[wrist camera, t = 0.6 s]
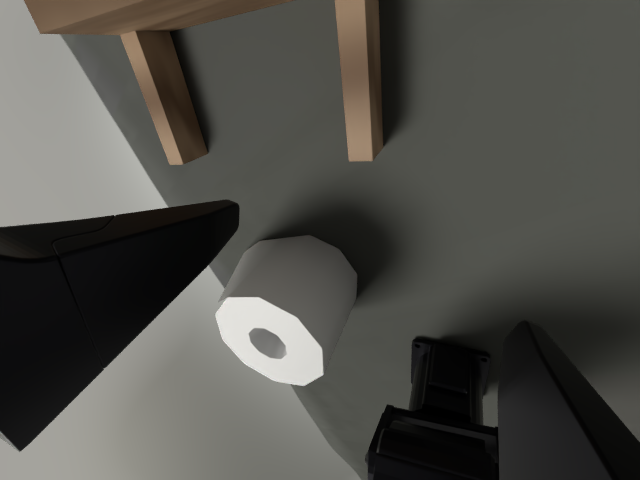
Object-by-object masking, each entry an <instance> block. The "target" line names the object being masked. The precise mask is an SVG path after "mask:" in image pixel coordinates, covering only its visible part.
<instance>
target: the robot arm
mask: <svg viewBox="0 0 640 480" xmlns="http://www.w3.org/2000/svg"><path fill="white" fill-rule="evenodd" d="M238 226H239V205H238V204H237V203H235V202H233V201H230V200H220V201H213V202H205V203H198V204H191V205H184V206H177V207H169V208H163V209H155V210H148V211H141V212H134V213H126V214H119V215H116V216H114V215H112V216H105V217H98V218H90V219H82V220H72V221H62V222H53V223H40V224H29V225H19V226H8V227H0V438H1V439H3V440H4V441H5V442H7V443H8V444H9V445H11V446H12V447H14V448H15V449H16V450H18V451H19V452H20V451H21V450H23V449H24V448H25V447H26V446H27V445H28V444H29V443H31V442H32V441H33V440H34V439H35V438H36V437H37V435H39V434H40V433H41V431H43V430H44V429H45V428H46V427H47V426H48V425H49V424H50V423H51V422H52V421H53V420H54V419H55V418H56V417H57V416H58V415H59V414H60V413H61V412H62V411H63V410H64V409H65V408H66V407H67V406H68V405H69V404H70V403H71V402H72V401H73V400H74V399H75V398H76V397H77V396H78V395H79V394H80V392H82V391H83V390H84V389H85V388H86V387H87V386H88V385H89V384H90V383H91V382H92V381H93V380H94V379H95V378H96V377H97V376H98V375H99V374H100V373H101V372H102V371H103V370H104V369H103V368H105V367H107V366H108V365H109V364H110V363H111V362H112V361H113V360H114V359H115V358H116V357H117V356H118V355H119V354H120V353H121V352H122V351H123V350H124V349H125V348H126V347H127V346H128V345H129V344H130V343H131V342H132V341H133V340H134V339H135V338H136V337H137V336H138V335H139V334H140V333H141V332H142V331H143V330H144V329H145V328H146V327H147V326H148V325H149V324H150V323H151V322H152V321H153V320H154V319H155V318H156V317H157V316H158V315H159V314H160V313H161V312H162V311H163V310H164V309H165V308H166V307H167V306H168V305H169V304H170V303H171V302H172V301H173V300H174V299H175V298H176V297H177V296H178V295H179V294H180V293H181V292H182V291H183V290H184V289H185V288H186V287H187V286H188V285H189V284H190V283H191V282H192V281H193V280H194V279H195V278H196V277H197V276H198V275H199V274H200V273H201V272H202V271H203V270H204V269H205V268H206V267H207V266H208V265H209V264H210V263H211V262H212V261H213V259H214V258H215V257H216V256H217V255H218V253H219V252H220V251H221V250H222V248H223V247H224V246H225V245H226V243H227V242H228V241H229V240H230V238H231V237H232V236H233V235H234V233H235V232H236V231H237V229H238ZM418 344H419V345H418ZM490 362H491V359H490V355H489V354H488V353H485V352H481V351H476V350H471V349H466V348H461V347H456V346H451V345H446V344H441V343H436V342H431V341H426V340H421V339H414V340H413V342H412V363H411V383H412V384H413V385H412V391H411V397H410V403H409V410H406V409H401V408H396V407H394V406H392V405H387V406H386V408H385V411H384V413H382V416H381V418H380V421H379V424H378V426H377V429H376V431H375V434H374V436H373V439H372V442H371V444H370V447H369V450H368V452H367V454H366V456H365V463H366V465H367V467H368V480H640V442H639V441H638V440H637V439H636V437H635V436H634V435H633V434H632V433H631V432H630V430H629V429H628V428H627V427H626V426H625V425H624V423H623V422H622V421H621V420H620V419H619V417H618V416H617V415H616V414H615V413H614V412H613V410H612V409H611V408H610V407H609V406H608V405H607V403H606V402H605V401H604V400H603V399H602V397H601V396H600V395H599V394H598V393H597V392H596V390H595V389H594V388H593V387H592V386H591V385H590V383H589V382H588V381H587V380H586V379H585V377H584V376H583V375H582V374H581V373H580V372H579V370H578V369H577V368H576V367H575V366H574V365H573V363H572V362H571V361H570V360H569V359H568V357H567V356H566V355H565V354H564V353H563V352H562V350H561V349H560V348H559V347H558V346H557V345H556V343H555V342H554V341H553V340H552V339H551V337H550V336H549V335H548V334H547V333H546V332H545V330H544V329H543V328H542V327H541V326H540V325H537V324H535V323H532V322H530V321H527V320H522V321H520V322H519V323H518V324H517V326H516V327H515V328H514V329H513V330H512V331H511V332H510V333H509V335H508V336H507V337H506V338H505V340H504V343H503V349H502V358H501V367H500V376H499V386H498V427H496V426H495V428H494V427H489V426H484V425H483V404H482V399H483V395H484V390H485V385H486V381H487V376H488V371H489V367H490Z"/></svg>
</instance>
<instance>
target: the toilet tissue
mask: <svg viewBox="0 0 640 480" xmlns="http://www.w3.org/2000/svg"><path fill="white" fill-rule="evenodd" d="M356 295H357V273H356V272H355V271H354V269H353V268H352V266H351V265H350V264H349V262H348V261H347V259H346V258H345V256H344V255H343V254H342V252H341V251H340V249H338V248H336V247H334V246H332V245H330V244H328V243H325V242H323V241H321V240H319V239H317V238H315V237H313V236H311V235H305V236H296V237H288V238H280V239H271V240H263V241H259V242H257V243H256V244H255V245H253V246H252V247H250V248H249V249H248V250H246V251H245V252H244V254H243V256H242V258H241V260H240V262H239V263H238V265H237V267H236V269H235V271H234V273H233V275H232V277H231V279H230V280H229V282H228V284H227V286H226V288H225V290H224V292H223V294H222V296H221V297H220V299H219V301H221V300H223V299H225V298H227V299H226V300H225V301H224V303H223V304H222V306H221V307H220V308H219V310H218V311H217V313H216V314H215V316H216V319H217V322H218V326H219V329H220V332H221V336H222V339H223V341H224V342H225V343H226V344H227V345H228V346H229V347H230V348H231V350H232V351H233V352H234V353H235V354H236V355H237V356H238V357H239V358H240V359H241V361H243V363H244V364H245V365H247V366H249V367H251V368H252V369H254V370H256V371H257V372H259V373H261V374H263V375H264V376H266V377H268V378H270V379H271V380H273V381H277V382H282V383H288V384H295V385H301V386H305V385H307V384H308V383H310V382H312V381H313V380H315V379H317V378H319V377H320V376H322V375H323V374H324V372H325V370H326V367H327V365H328V363H329V361H330V358H331V356H332V354H333V351H334V349H335V347H336V344H337V342H338V340H339V337H340V335H341V333H342V331H343V328H344V326H345V324H346V321H347V319H348V317H349V314H350V312H351V310H352V308H353V305H354V303H355V301H356Z"/></svg>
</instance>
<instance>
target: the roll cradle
mask: <svg viewBox="0 0 640 480" xmlns="http://www.w3.org/2000/svg"><path fill="white" fill-rule="evenodd" d="M24 1H25V3H26V5H27V7H28V9H29V12H30V13H31V16H32V18H33V20H34V22H35V24H36V26H37V28H38V30H39V32H40V34H95V35H120V36H121V39H122V41H123V44H124V46H125V49H126V52H127V54H128V57H129V59H130V62H131V65H132V67H133V70H134V72H135V75H136V78H137V80H138V83H139V85H140V88H141V91H142V93H143V96H144V99H145V101H146V104H147V106H148V109H149V112H150V114H151V117H152V119H153V122H154V125H155V127H156V130H157V132H158V135H159V138H160V140H161V143H162V145H163V148H164V151H165V153H166V156H167V158H168V161H169V164H170V165H176V164H185V163H188V162H190V161H192V160H195V159H197V158H199V157H201V156H204V155H206V154H208V152H207V149H206V146H205V143H204V140H203V136H202V133H201V130H200V127H199V124H198V121H197V117H196V114H195V111H194V108H193V105H192V102H191V98H190V95H189V92H188V89H187V86H186V83H185V79H184V76H183V73H182V70H181V67H180V64H179V60H178V57H177V54H176V51H175V48H174V45H173V41H172V38H171V35H170V31H174V30H178V29H182V28H186V27H190V26H194V25H198V24H202V23H206V22H210V21H214V20H218V19H222V18H226V17H230V16H234V15H238V14H242V13H246V12H250V11H254V10H258V9H262V8H266V7H270V6H274V5H278V4H282V3H286V2H290V1H294V0H24ZM335 7H336V18H337V30H338V41H339V53H340V64H341V75H342V87H343V98H344V109H345V121H346V132H347V144H348V155H349V161H373V160H374V158H375V157H376V156H377V155H378V153H379V152H380V151H381V150H382V148H383V126H382V94H381V61H380V29H379V0H335Z"/></svg>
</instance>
